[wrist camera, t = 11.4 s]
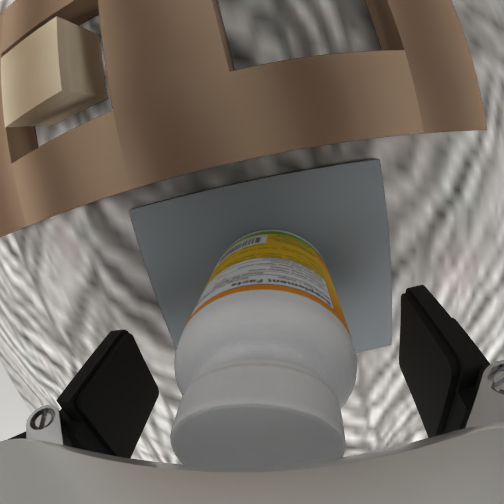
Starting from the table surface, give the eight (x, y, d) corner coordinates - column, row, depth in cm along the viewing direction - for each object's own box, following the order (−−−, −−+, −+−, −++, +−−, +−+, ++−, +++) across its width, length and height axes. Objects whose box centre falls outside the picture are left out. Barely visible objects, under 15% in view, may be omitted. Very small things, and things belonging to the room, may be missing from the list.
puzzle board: (380, -82, 8) (390, -103, 5) (459, 130, 12) (487, 130, 10) (-4, 44, 12) (-28, 40, 9) (20, 228, 16) (-5, 239, 14)
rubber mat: (376, 158, 13) (379, 159, 13) (388, 339, 16) (391, 344, 16) (133, 208, 15) (128, 210, 14) (188, 368, 18) (186, 373, 17)
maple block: (100, 36, 12) (56, 16, 8) (108, 98, 13) (61, 90, 9) (46, 66, 12) (0, 58, 9) (53, 125, 14) (4, 127, 10)
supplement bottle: (303, 340, 16) (312, 511, 7) (204, 309, 16) (135, 470, 7) (345, 249, 14) (426, 404, 5) (234, 210, 14) (152, 333, 5)
